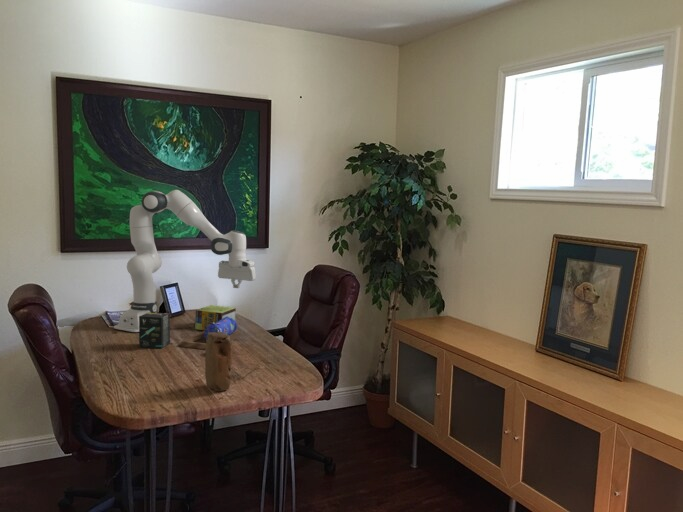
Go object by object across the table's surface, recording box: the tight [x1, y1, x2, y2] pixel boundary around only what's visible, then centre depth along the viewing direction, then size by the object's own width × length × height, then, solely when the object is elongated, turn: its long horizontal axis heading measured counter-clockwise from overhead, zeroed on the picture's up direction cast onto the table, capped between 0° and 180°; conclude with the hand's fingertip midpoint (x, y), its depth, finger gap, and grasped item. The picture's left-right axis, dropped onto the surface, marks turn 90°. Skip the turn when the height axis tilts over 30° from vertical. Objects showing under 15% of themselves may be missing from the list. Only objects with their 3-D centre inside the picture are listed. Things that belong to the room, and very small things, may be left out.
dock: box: [180, 330, 242, 350], centre depth 269 cm, size 16×29×2 cm, turn 166°
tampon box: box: [138, 312, 171, 349], centre depth 256 cm, size 11×9×15 cm
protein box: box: [194, 304, 237, 331], centre depth 294 cm, size 10×15×16 cm
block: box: [204, 332, 233, 392], centre depth 203 cm, size 11×8×20 cm
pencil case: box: [203, 316, 238, 340], centre depth 274 cm, size 22×9×10 cm, turn 167°
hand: (236, 287), depth 292 cm, fingers closed
